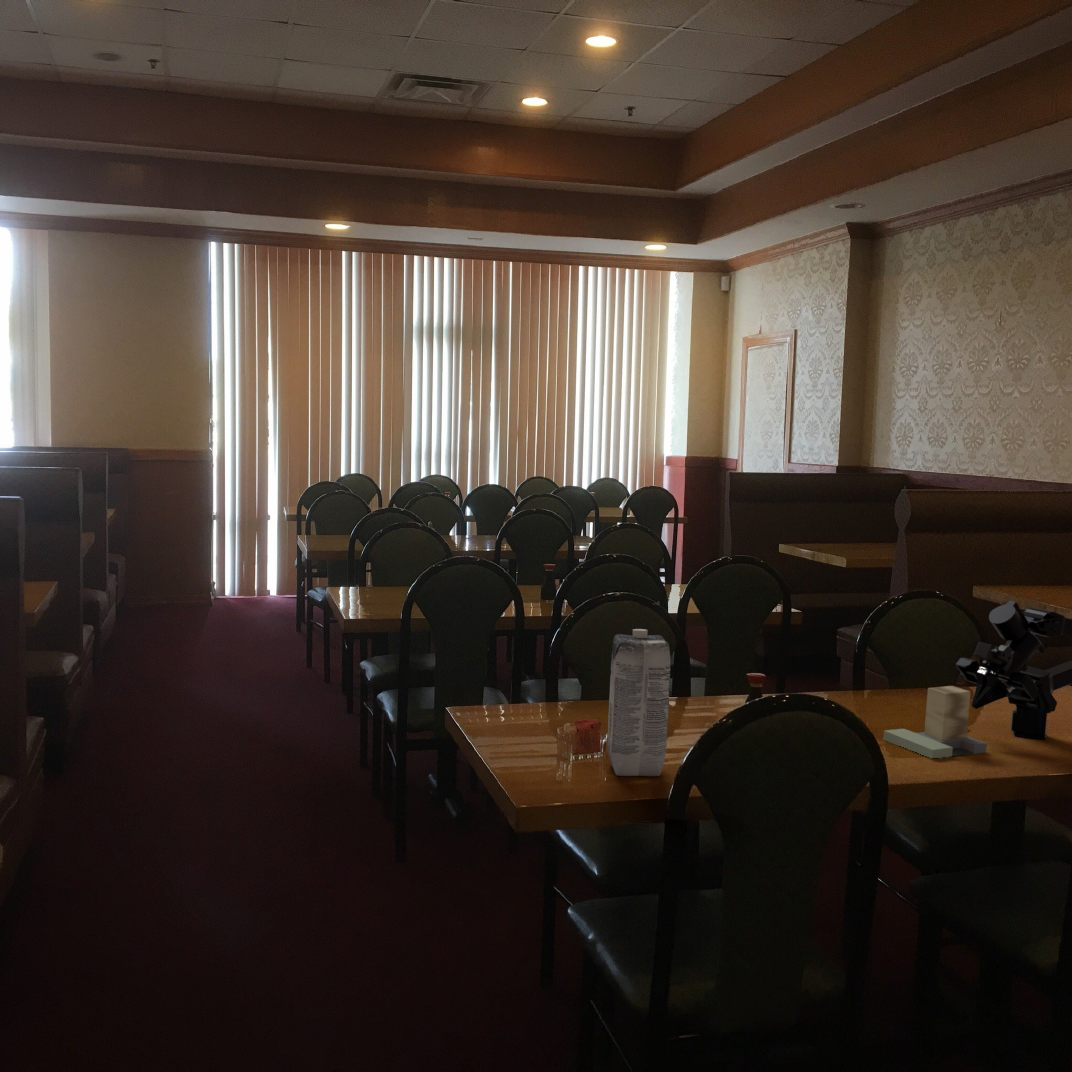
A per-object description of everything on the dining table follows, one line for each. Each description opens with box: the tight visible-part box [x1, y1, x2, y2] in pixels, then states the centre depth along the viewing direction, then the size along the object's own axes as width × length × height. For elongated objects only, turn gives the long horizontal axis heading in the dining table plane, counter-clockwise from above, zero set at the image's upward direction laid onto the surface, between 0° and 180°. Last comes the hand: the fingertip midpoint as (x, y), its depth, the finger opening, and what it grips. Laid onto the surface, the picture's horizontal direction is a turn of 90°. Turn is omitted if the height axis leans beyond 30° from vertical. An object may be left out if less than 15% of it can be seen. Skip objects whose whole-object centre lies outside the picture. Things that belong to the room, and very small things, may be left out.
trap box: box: [882, 728, 988, 759], centre depth 231 cm, size 15×14×2 cm
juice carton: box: [607, 628, 671, 777], centre depth 206 cm, size 9×10×27 cm
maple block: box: [923, 685, 972, 740], centre depth 232 cm, size 7×5×10 cm
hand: (973, 707), depth 235 cm, fingers closed
